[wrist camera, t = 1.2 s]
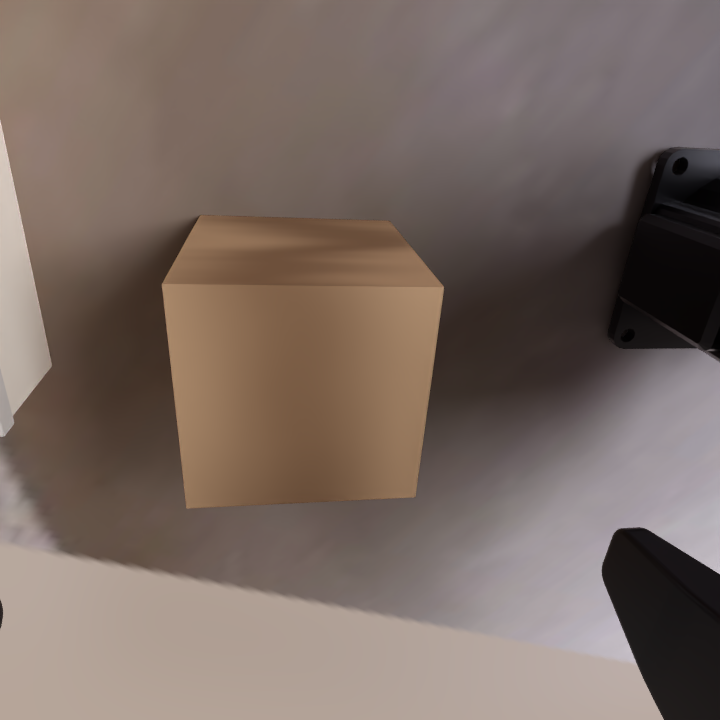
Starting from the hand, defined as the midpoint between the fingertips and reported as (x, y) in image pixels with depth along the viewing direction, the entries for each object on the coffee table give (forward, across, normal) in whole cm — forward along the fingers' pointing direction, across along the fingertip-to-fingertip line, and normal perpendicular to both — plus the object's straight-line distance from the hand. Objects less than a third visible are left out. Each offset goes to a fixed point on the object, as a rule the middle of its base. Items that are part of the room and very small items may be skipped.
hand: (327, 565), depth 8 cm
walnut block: (+10, 0, 0) cm, 11 cm away
